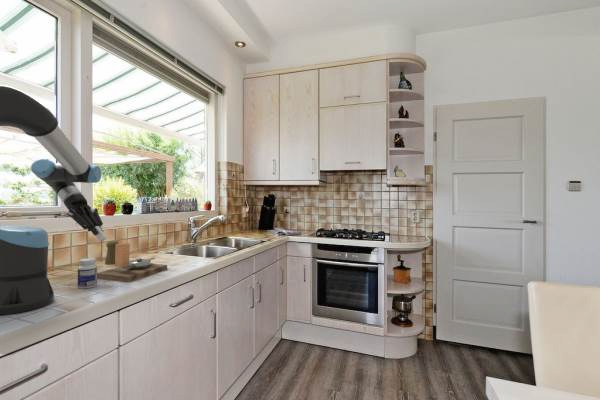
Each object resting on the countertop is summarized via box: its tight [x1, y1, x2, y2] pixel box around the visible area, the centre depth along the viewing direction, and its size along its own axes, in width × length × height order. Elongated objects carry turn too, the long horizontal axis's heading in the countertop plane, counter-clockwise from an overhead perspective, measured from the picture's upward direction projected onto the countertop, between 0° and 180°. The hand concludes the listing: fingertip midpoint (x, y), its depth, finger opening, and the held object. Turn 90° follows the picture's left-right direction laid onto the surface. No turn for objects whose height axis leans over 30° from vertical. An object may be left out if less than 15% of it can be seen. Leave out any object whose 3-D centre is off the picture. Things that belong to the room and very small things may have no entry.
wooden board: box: [97, 262, 168, 283], centre depth 124 cm, size 22×16×2 cm
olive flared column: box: [104, 240, 119, 266], centre depth 141 cm, size 6×6×11 cm
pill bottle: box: [77, 257, 98, 290], centre depth 105 cm, size 6×6×10 cm
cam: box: [114, 242, 156, 269], centre depth 126 cm, size 20×9×12 cm, turn 166°
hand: (103, 239), depth 122 cm, fingers closed
